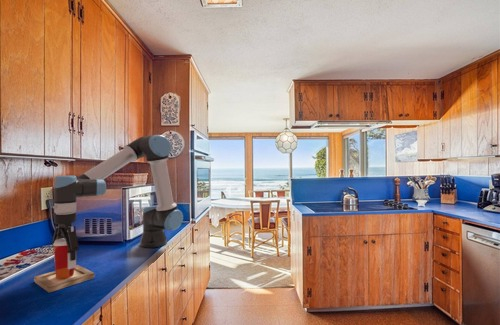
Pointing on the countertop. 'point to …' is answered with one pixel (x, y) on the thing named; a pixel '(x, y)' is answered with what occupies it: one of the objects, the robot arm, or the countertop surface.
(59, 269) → the coffee cup
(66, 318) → the countertop surface
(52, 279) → the square tray
